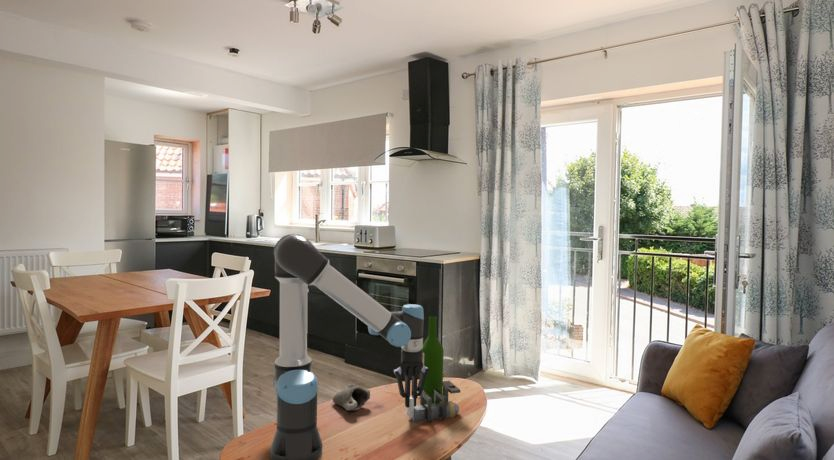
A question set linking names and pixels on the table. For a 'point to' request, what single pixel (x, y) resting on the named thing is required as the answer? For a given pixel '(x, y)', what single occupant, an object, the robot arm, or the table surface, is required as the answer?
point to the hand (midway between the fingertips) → (410, 415)
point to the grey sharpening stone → (434, 411)
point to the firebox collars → (446, 387)
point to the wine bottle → (433, 361)
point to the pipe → (352, 397)
